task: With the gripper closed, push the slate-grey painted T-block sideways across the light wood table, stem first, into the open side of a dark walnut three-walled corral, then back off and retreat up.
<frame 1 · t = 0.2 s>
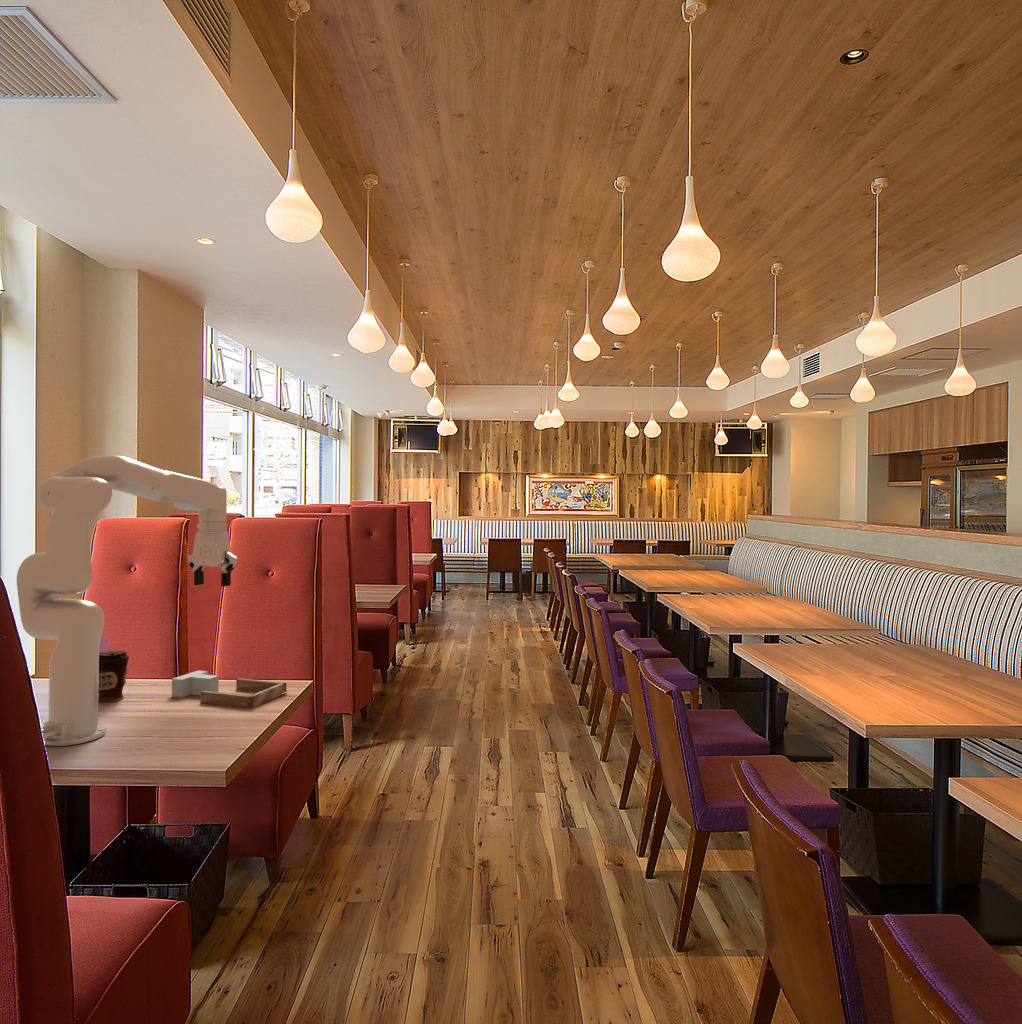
hand: (212, 585, 193), 30 cm above the table, fingers open, 9 cm apart
toy chair: (101, 689, 191), on the table
coffee cup: (110, 700, 180), on the table
corral: (242, 697, 183), on the table
tee block: (190, 692, 188), on the table
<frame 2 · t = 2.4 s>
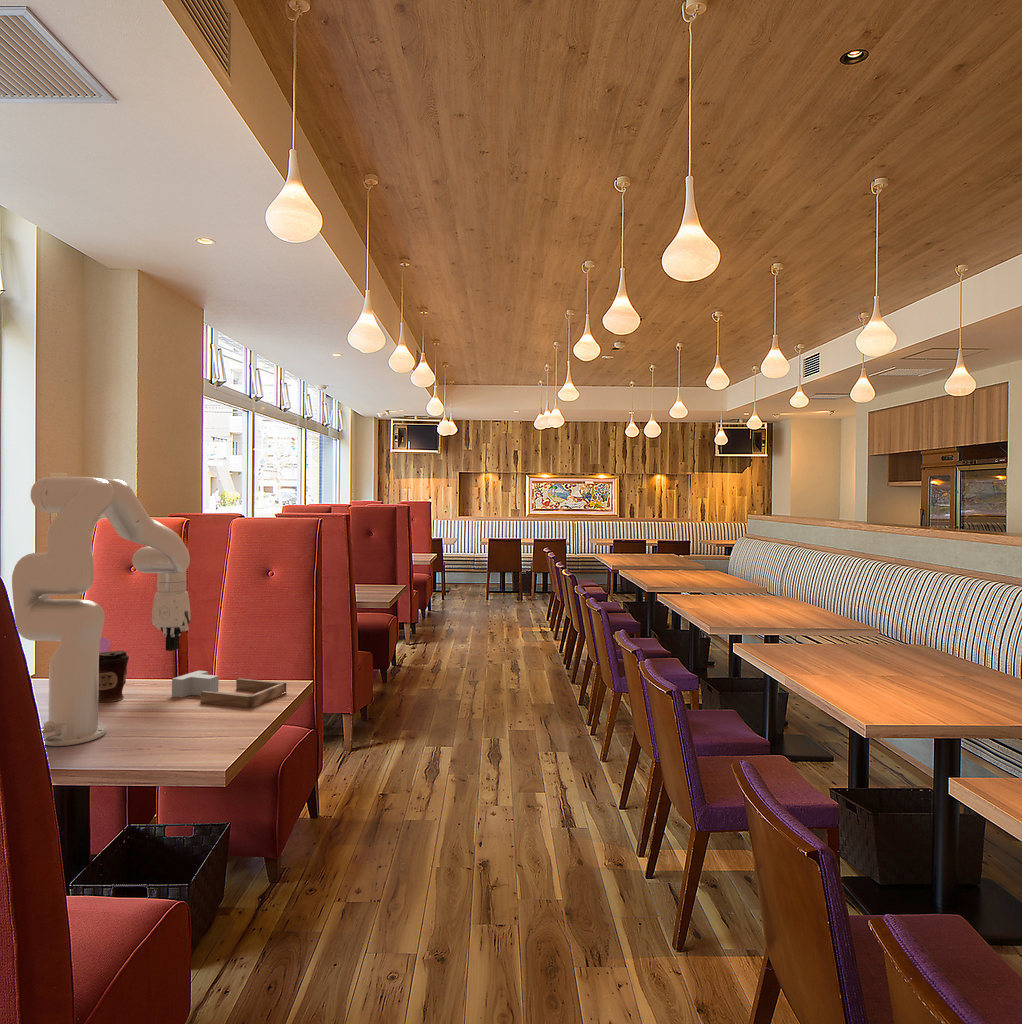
hand: (172, 649, 190), 12 cm above the table, fingers closed
nothing on the table moved.
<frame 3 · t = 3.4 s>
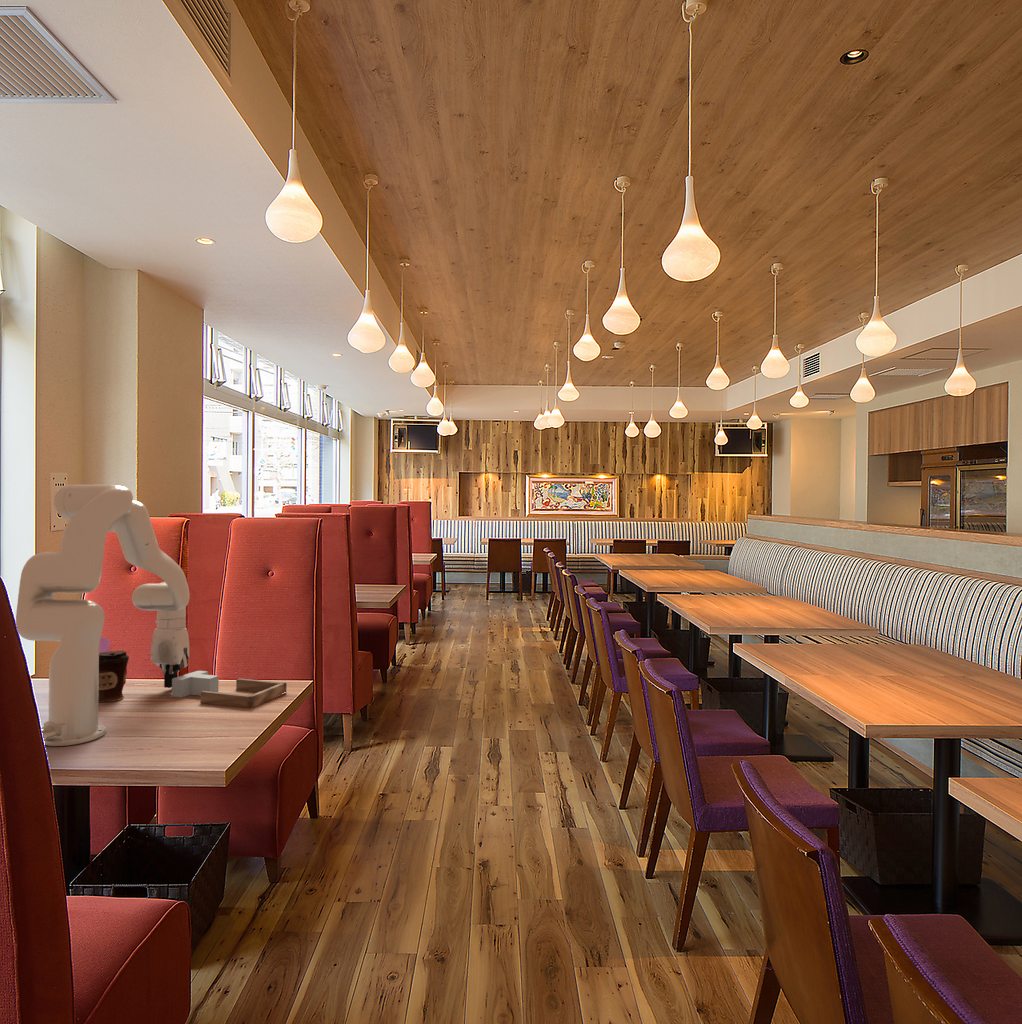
hand: (170, 686, 190), 1 cm above the table, fingers closed
nothing on the table moved.
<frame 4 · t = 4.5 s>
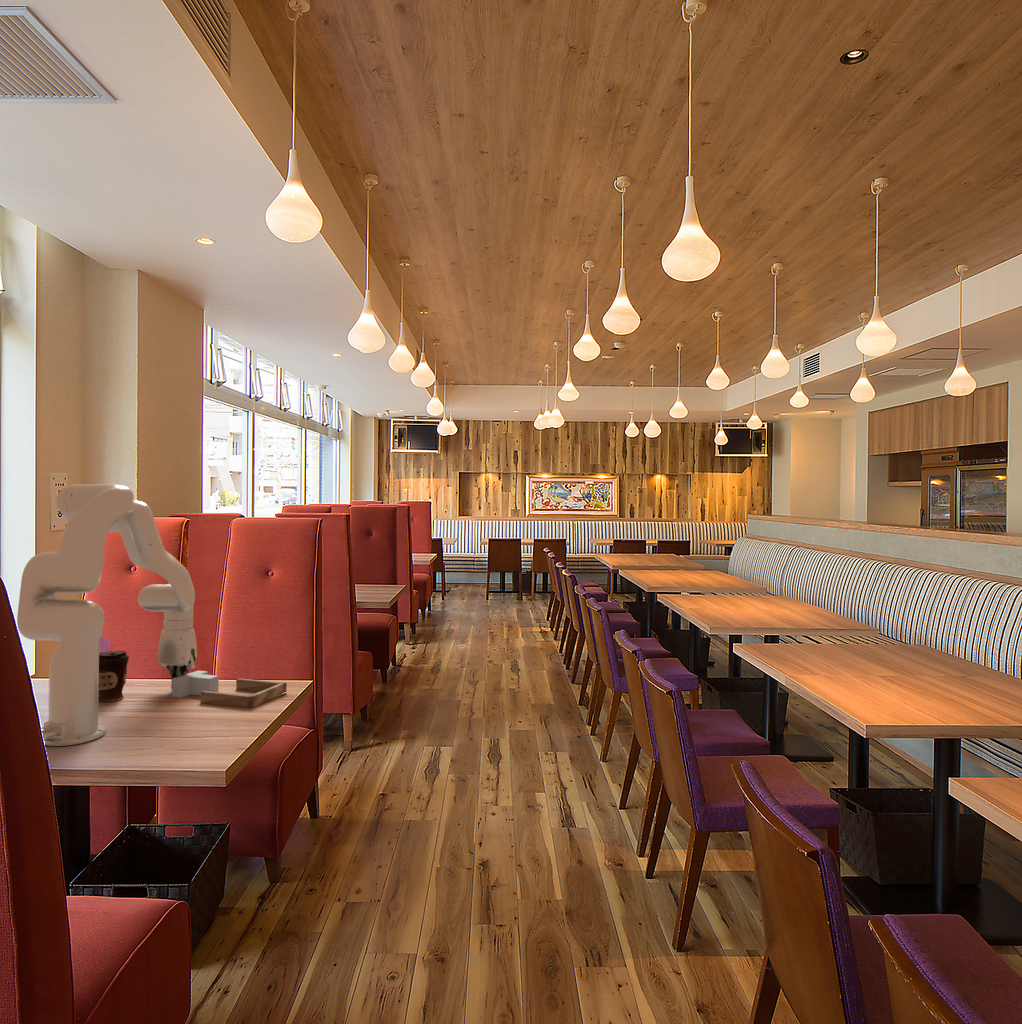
hand: (177, 687, 189), 1 cm above the table, fingers closed
tee block: (190, 692, 188), on the table, touching gripper
everything else where it was.
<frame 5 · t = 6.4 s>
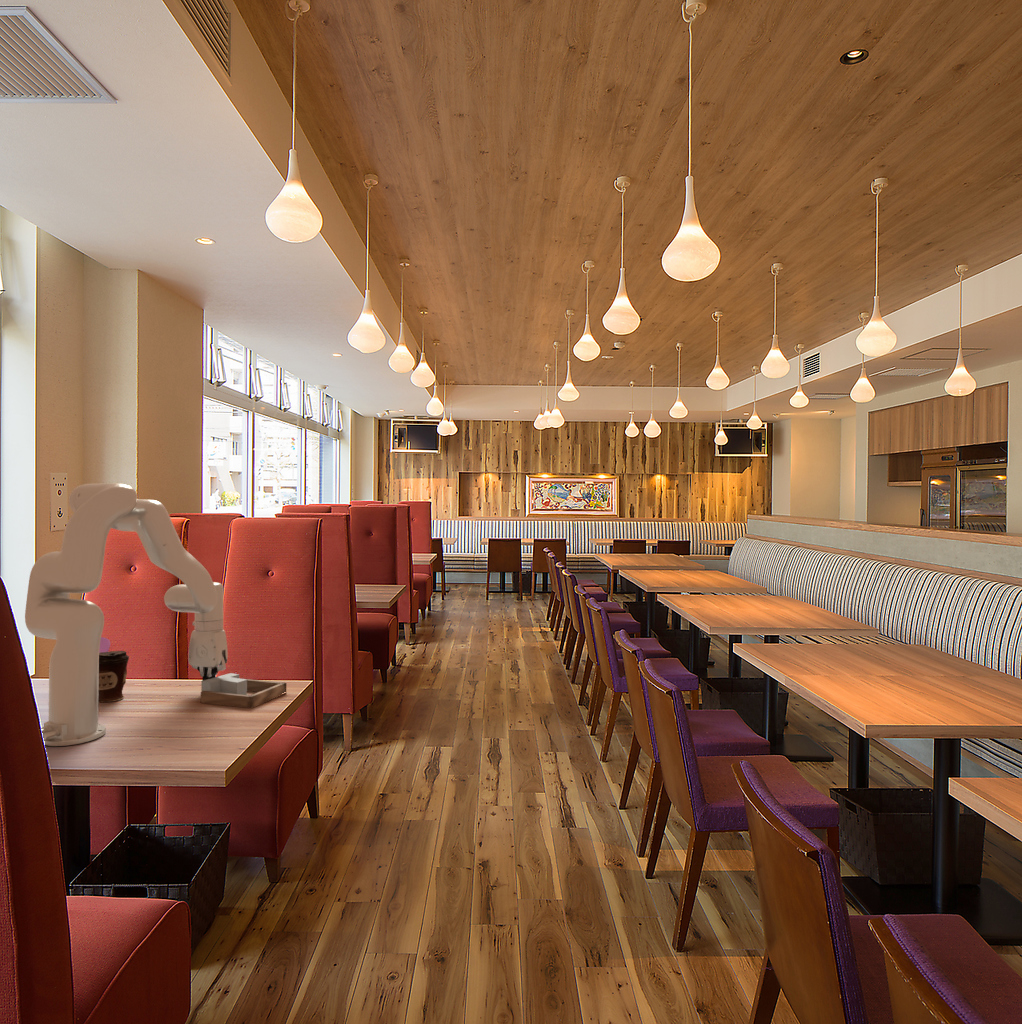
hand: (208, 689, 187), 1 cm above the table, fingers closed
tee block: (220, 695, 185), on the table, touching gripper
everything else where it was.
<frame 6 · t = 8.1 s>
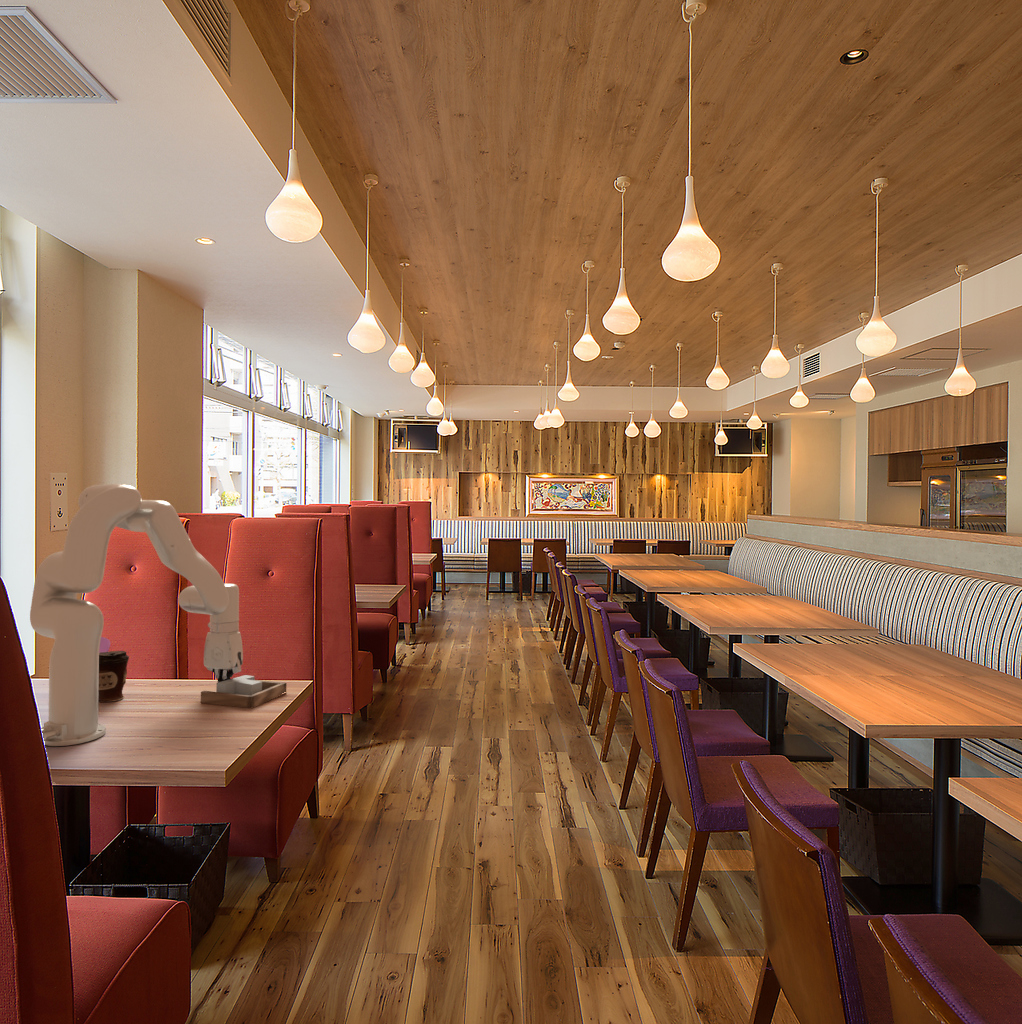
hand: (223, 691, 185), 1 cm above the table, fingers closed
tee block: (235, 697, 183), on the table, touching gripper
everything else where it was.
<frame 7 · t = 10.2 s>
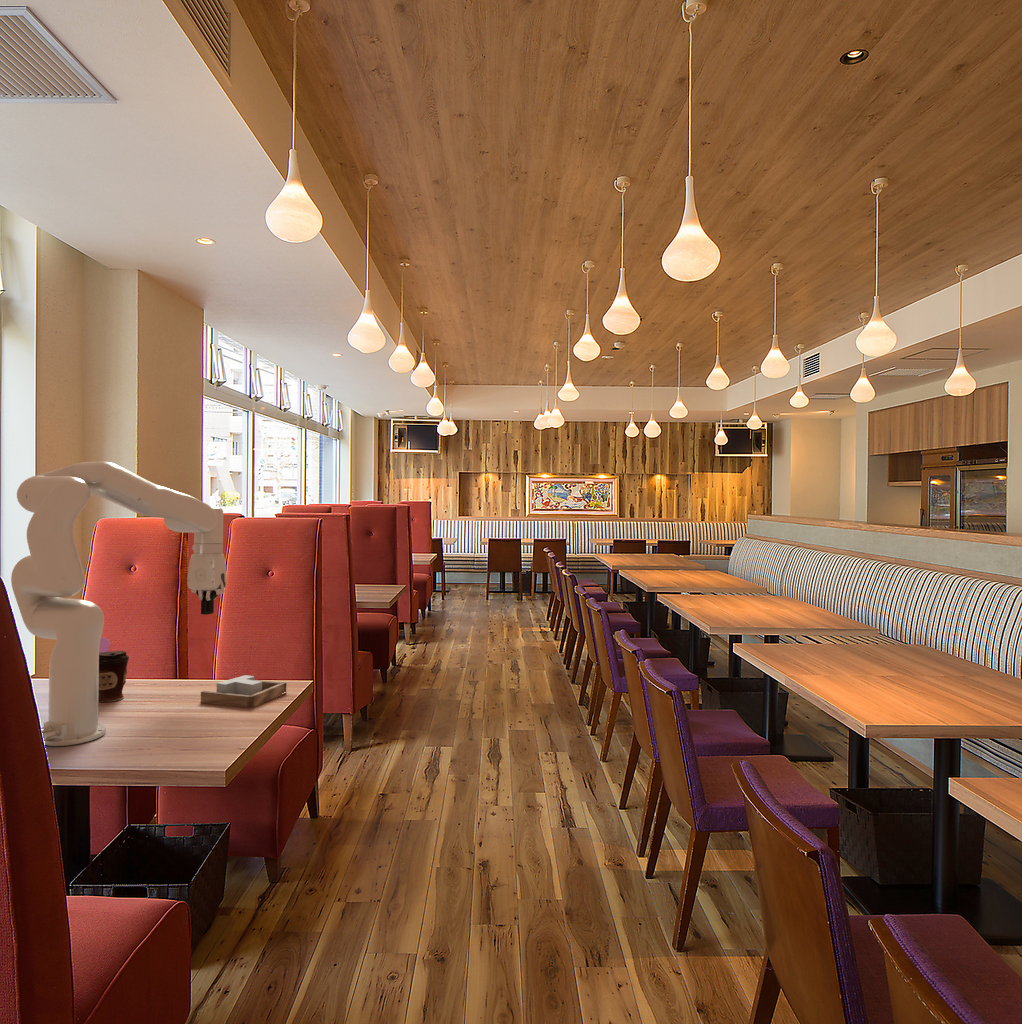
hand: (207, 613, 186), 23 cm above the table, fingers closed
tee block: (235, 697, 183), on the table
everything else where it was.
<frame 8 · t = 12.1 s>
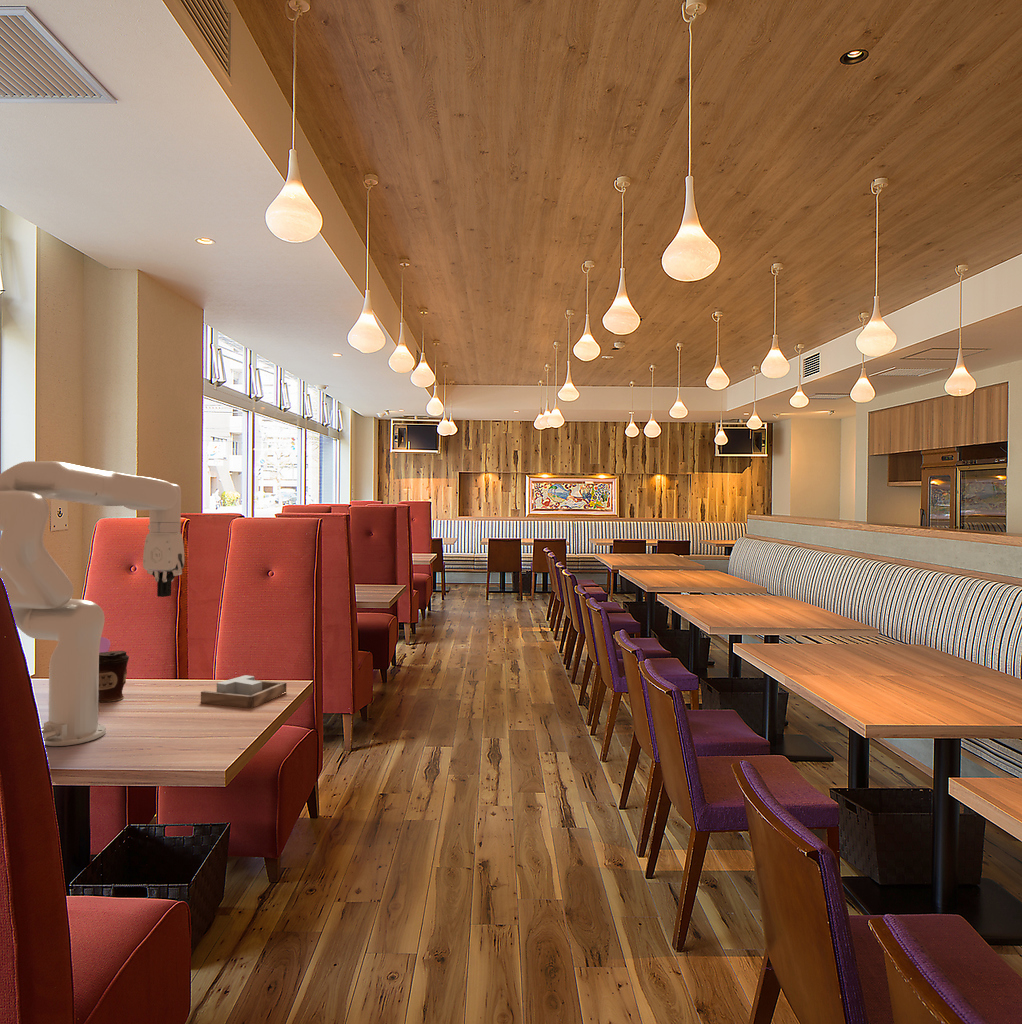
hand: (164, 596, 177), 29 cm above the table, fingers closed
nothing on the table moved.
at the end: tee block 1.2 cm from the target spot on the corral, point 0.0 cm above the corral's base; tee block tilted 0° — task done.
